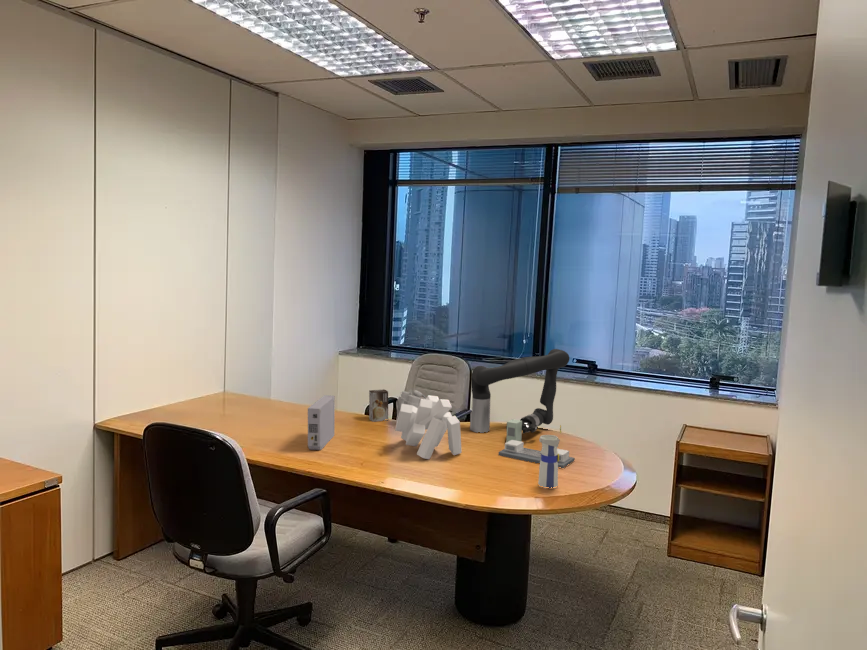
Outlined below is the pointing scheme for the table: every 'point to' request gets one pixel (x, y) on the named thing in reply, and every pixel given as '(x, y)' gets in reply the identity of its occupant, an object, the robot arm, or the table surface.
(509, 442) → the rectangular blocks
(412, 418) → the white angular blocks
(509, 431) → the tall block
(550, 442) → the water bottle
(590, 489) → the table surface
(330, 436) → the game console
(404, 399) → the twin engine backpack
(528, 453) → the mounting plate
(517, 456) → the grey board
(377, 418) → the coffee box
